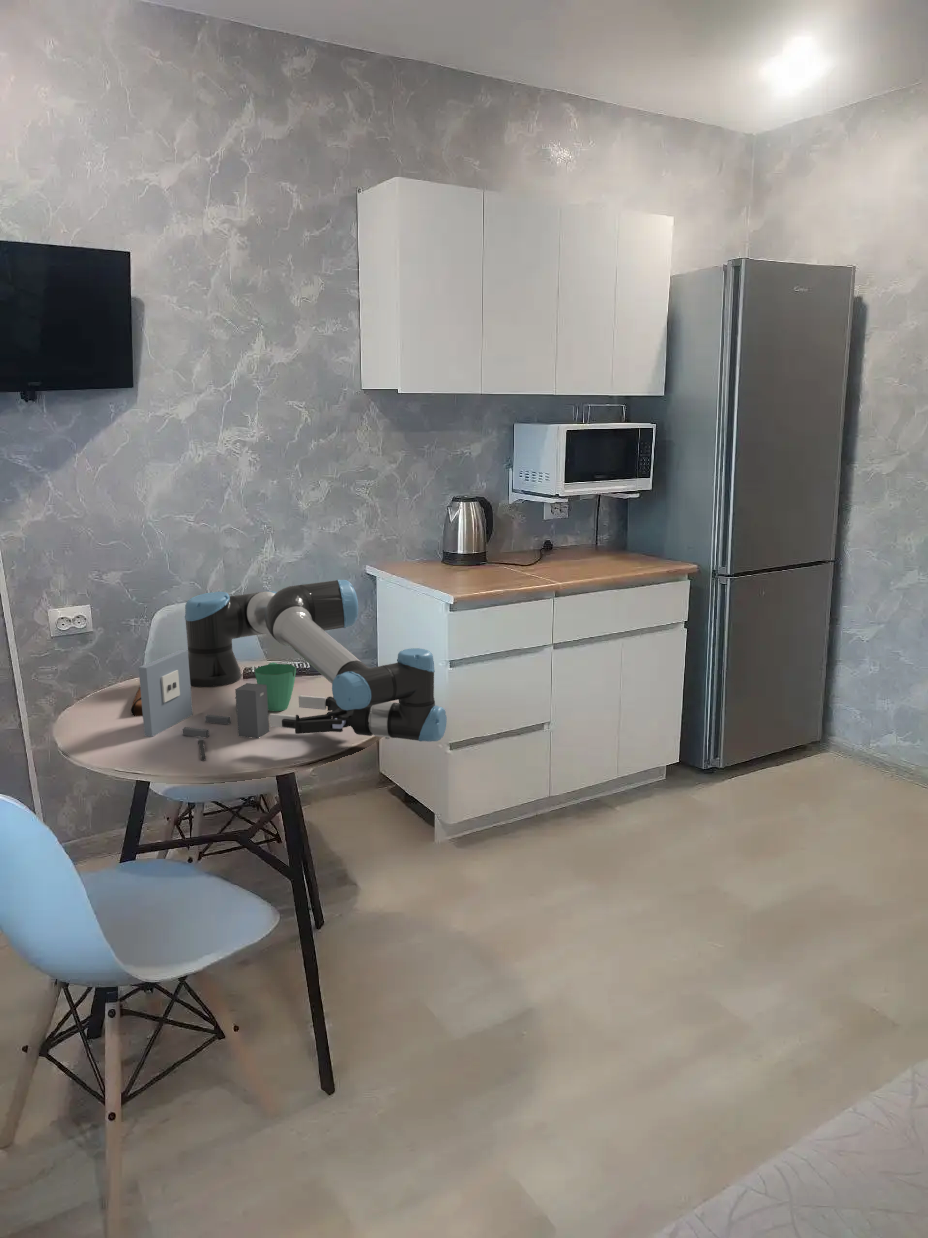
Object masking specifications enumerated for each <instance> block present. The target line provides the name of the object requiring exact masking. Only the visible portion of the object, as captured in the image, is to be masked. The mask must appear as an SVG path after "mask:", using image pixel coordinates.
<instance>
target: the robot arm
mask: <svg viewBox="0 0 928 1238" xmlns="http://www.w3.org/2000/svg"><path fill="white" fill-rule="evenodd" d="M184 608H185V609H184V611H185V613H184V620H185V629H186V641H187V642H186V643H187V650H188V659H189V672H190V686H191V687H197V688H199V687H200V688H204V687H205V688H208V687H209V688H211V687H212V688H213V687H220V686H225V685H229V684H232V683H233V684H234V683H235V682H237V681H240V679H241V677H242V674H241V668H240V666H239V663H238V660H237V658H236V656H235V653H234V650H233V640H234V639H239V638H245V637H246V638H247V637H252V636H258V635H261V636H262V635H270V636H272V638H273V639H275V640H276V641H277V642H278V643H279V644H280V645H282V646H286V647H290V648H291V649H292V650H293V651H295V653H297V654H298V655H299V656H300V657H301V658H302V659H304V661H306V663H308V664H309V665H310V666H312V668H313V669H315V670H316V671H317V672H318V673H319V674H321V675H322V677H324V678H325V679H326V681H328V682H329V683H331V691H332V696H328V697H323V696H316V695H313V696H311V695H301V694H300V695H298V708H300V709H310V710H311V709H313V710H323V711H326V710H327V711H328V712H326V713H325V714H318V715H310V716H304V717H303V716H302V717H300V715H299V714H296V715H292V714H291V715H290V714H283V713H280V714H279V713H268V716H269V728H270V727H271V728H279V729H280V728H281V729H282V728H283V729H292V730H295V732H294V733H295V734H297V735H299V734H300V735H301V734H314V733H316V734H317V733H328V732H329V733H331V732H332V733H342V732H343V731H344V730H343V729H344V728H348V727H351V729H352V730H353V732H354V734H355V735H357V736H358V735H359V736H369V737H370V736H374V737H381V738H385V740H389V739H401V740H407V741H408V740H410V741H417V742H429V743H430V742H439V741H440V740H441V739H442V738H443V737H444V735H445V733H446V730H447V714H446V709H445V708H444V707H442V706H439V705H436V701H435V697H434V696H435V670H436V669H435V663H434V662H435V661H434V655H433V653H432V651H430V650H428V649H425V648H420V647H419V648H413V647H412V648H411V647H410V648H404V649H402V650H401V651H399V652H398V654H397V659H396V662H395V663H389V664H388V663H387V664H384V665H383V664H382V665H379V666H374V667H369V666H367V665H366V664H365V663H364V662H363V661H361V660H360V659H358V658H357V657H356V656H355V655H354V654H353V653H352V652H351V651H349V650H348V649H347V648H346V647H345V646H343V645H342V644H341V643H340V642H339V641H337V640H336V639H335V637H334V638H333V637H332V636H331V635H330V634H329V633H328V632H326V631H331V630H337V629H346V628H347V627H353V626H354V625H355V624H356V622H357V620H358V616H359V601H358V594H357V592H356V590H355V588H354V586H353V584H352V583H351V582H350V580H347V579H337V578H336V580H330V581H329V580H327V581H319V582H312V583H305V584H303V583H302V584H298V585H289V586H286V587H284V588H281V589H280V590H278V591H274V590H272V591H271V590H263V591H260V592H259V591H258V592H251V593H245V594H236V595H231V596H230V595H229V593H228V592H225V591H215V592H212V591H211V592H206V593H201V594H198V595H195V596H193V597H191V598H190V599H188V600H187V601H186V603H185V607H184ZM395 701H398V702H395Z"/></svg>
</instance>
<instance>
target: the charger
mask: <svg viewBox="0 0 928 1238" xmlns="http://www.w3.org/2000/svg"><path fill="white" fill-rule="evenodd" d="M234 690H235V698H234V699H235V705H236V706H235V707H236V722H237V736H238V737H240V738H241V737H242V738H249V737H252V738H253V739H260V738H262V736H265V735H266V734H267V733H269V732H270V718H269V710H268V701H267V685H263V684H257V683H251V682H249V683H248V682H246V683H244V684H241V685H240V686H239V687H237V688H235V689H234ZM259 737H260V738H259ZM252 738H251V739H252Z"/></svg>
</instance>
